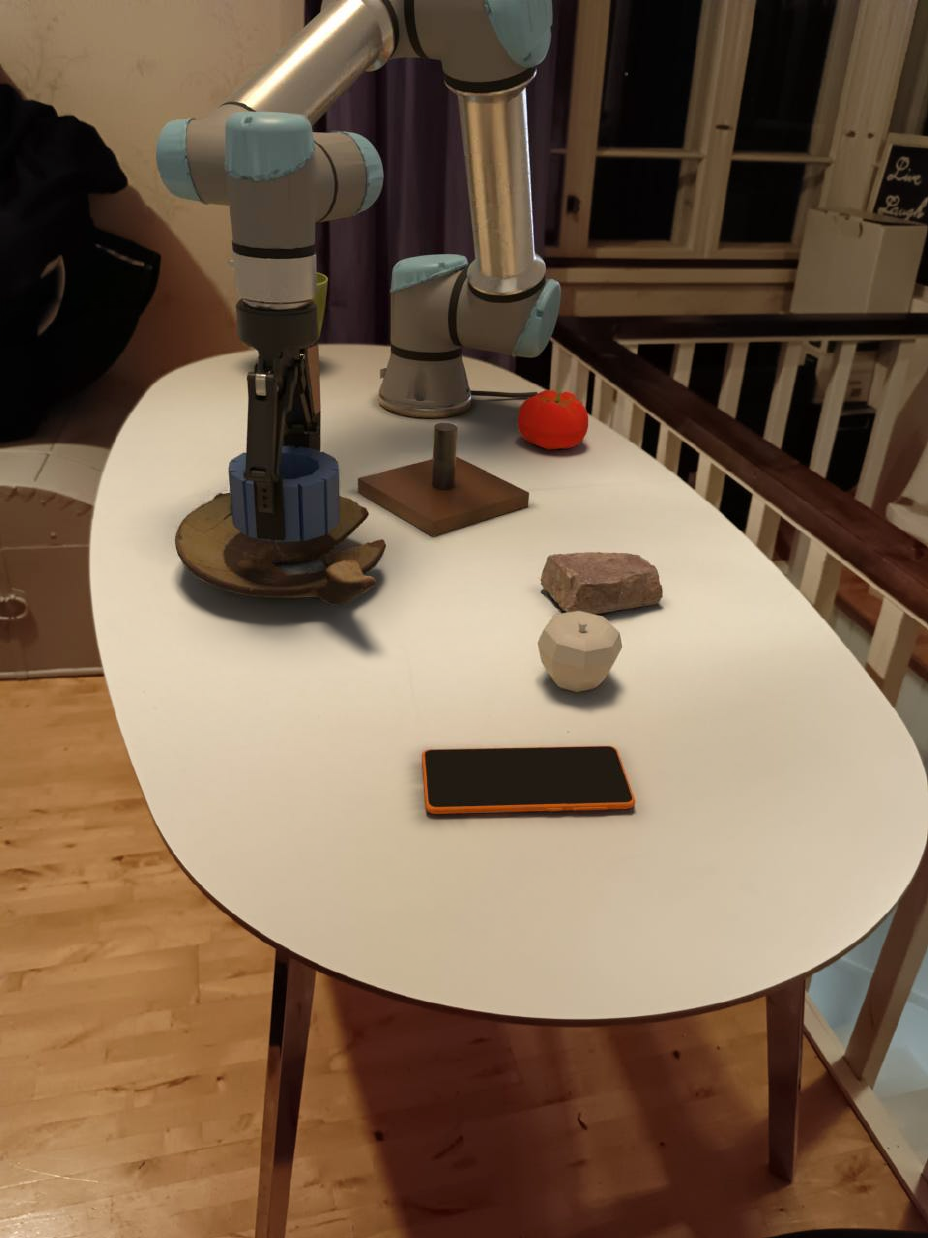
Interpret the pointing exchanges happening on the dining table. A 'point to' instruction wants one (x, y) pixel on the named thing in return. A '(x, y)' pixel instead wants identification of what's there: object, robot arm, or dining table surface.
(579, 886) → the dining table surface
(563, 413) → the tomato
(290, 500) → the ring
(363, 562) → the brown shallow round piece
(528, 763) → the smartphone
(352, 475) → the dining table surface
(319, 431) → the travel mug
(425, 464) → the platform
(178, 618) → the dining table surface
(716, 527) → the dining table surface
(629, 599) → the stone
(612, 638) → the apple
